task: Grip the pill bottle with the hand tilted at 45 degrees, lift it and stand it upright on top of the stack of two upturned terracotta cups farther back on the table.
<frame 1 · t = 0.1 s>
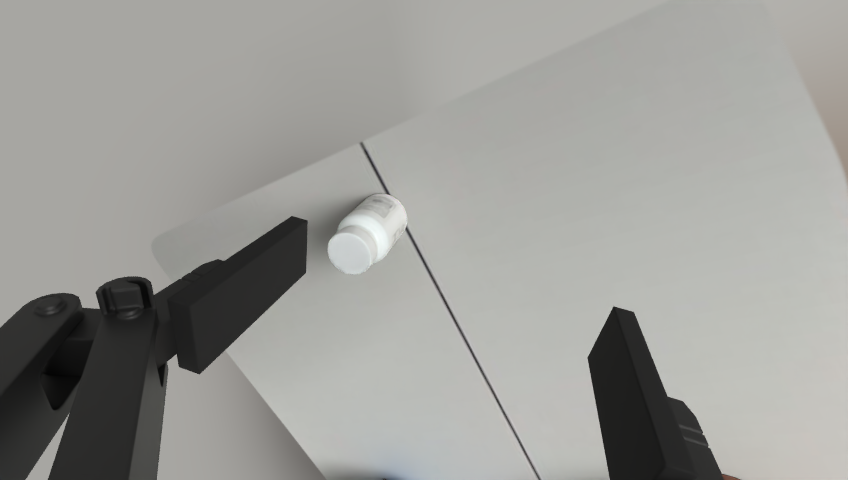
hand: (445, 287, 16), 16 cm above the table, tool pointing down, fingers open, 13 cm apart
pill bottle: (385, 215, 34), on the table
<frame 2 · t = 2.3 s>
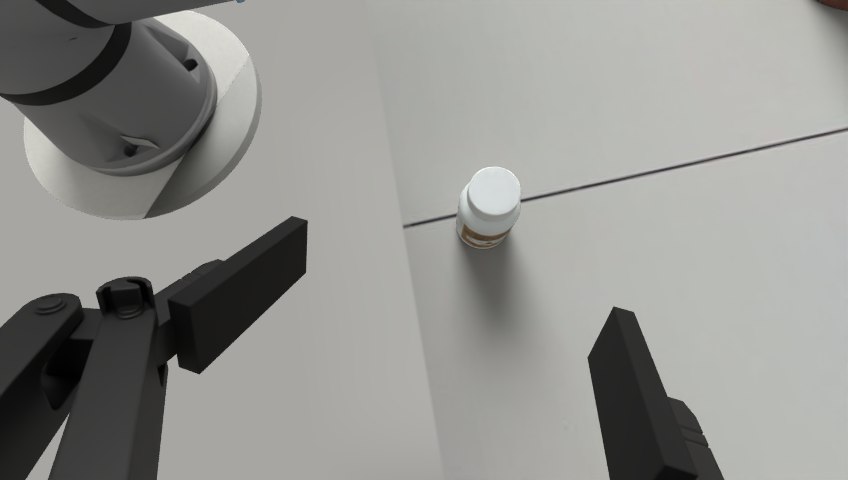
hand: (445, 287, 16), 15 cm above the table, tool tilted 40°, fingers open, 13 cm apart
pill bottle: (481, 225, 32), on the table
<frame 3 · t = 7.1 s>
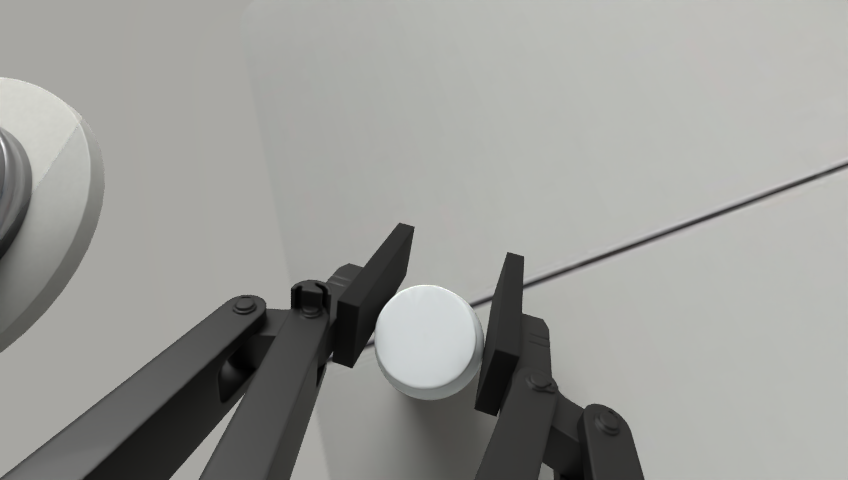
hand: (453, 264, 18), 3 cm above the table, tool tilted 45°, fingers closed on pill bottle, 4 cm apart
pill bottle: (433, 347, 20), on the table, touching gripper
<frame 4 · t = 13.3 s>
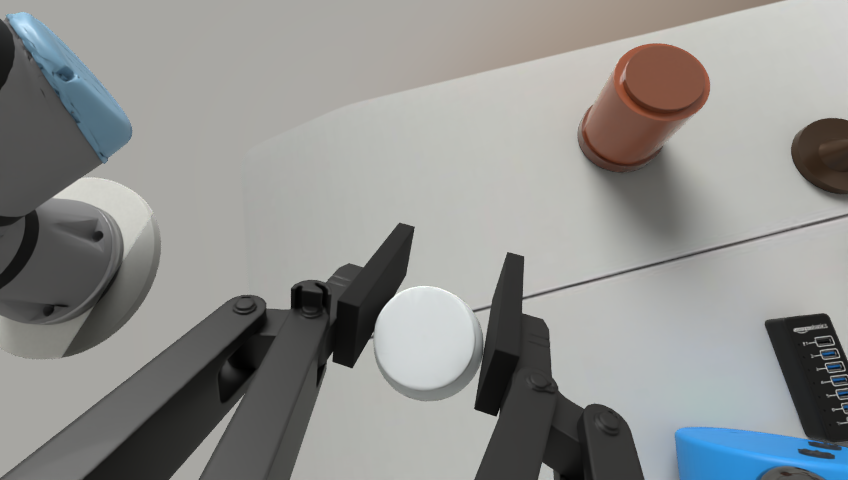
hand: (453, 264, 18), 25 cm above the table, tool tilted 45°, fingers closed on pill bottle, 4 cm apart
multiport hub: (805, 373, 38), on the table
candlestick: (832, 158, 44), on the table
cup stack: (617, 137, 46), on the table
alarm clock: (719, 459, 36), on the table
pill bottle: (432, 348, 20), point 21 cm above the table, touching gripper
when the fingers open (14 cm above the table, at t = 19.4 s): pill bottle stays where it is, resting on cup stack.
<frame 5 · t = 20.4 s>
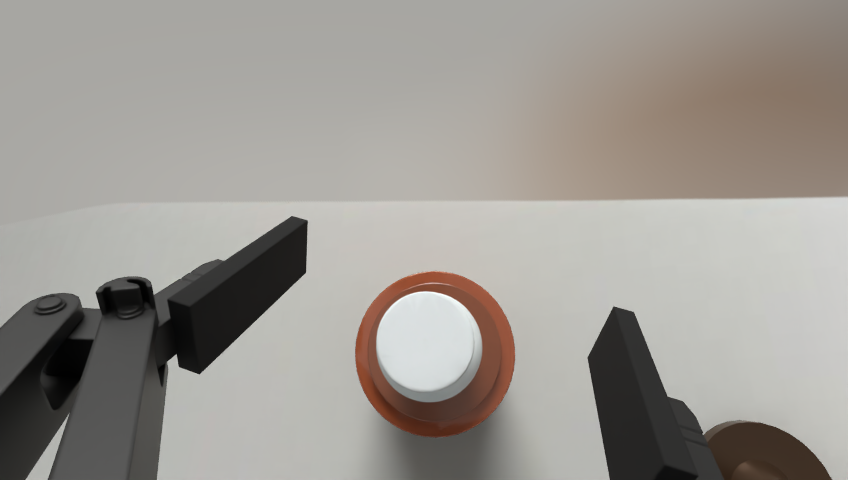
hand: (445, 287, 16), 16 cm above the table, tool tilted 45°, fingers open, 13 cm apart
cup stack: (438, 355, 31), on the table
pill bottle: (433, 350, 21), point 10 cm above the table, touching cup stack
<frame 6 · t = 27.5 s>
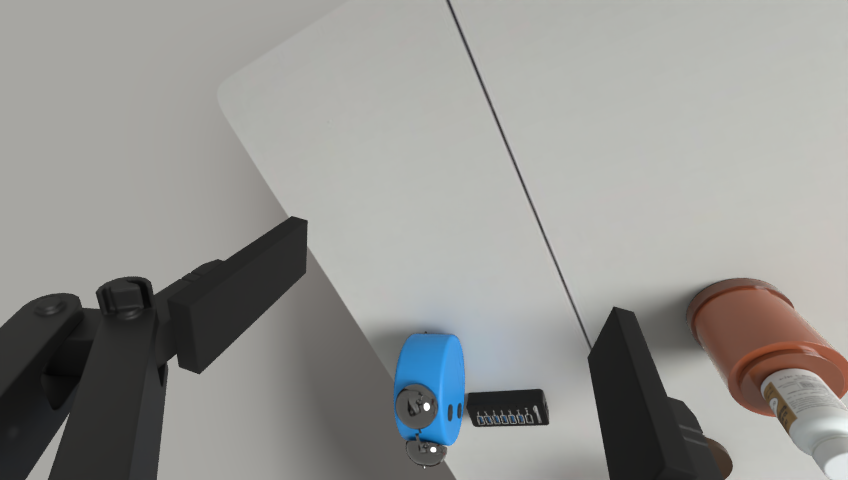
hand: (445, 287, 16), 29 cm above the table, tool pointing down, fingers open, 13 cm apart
multiport hub: (507, 401, 57), on the table
candlestick: (689, 457, 53), on the table
cup stack: (735, 314, 43), on the table
alarm clock: (444, 350, 55), on the table
pill bottle: (788, 384, 34), point 10 cm above the table, touching cup stack
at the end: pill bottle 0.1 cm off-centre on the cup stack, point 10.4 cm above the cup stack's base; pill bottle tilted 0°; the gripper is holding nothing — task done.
